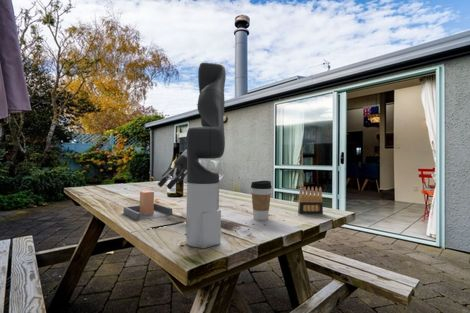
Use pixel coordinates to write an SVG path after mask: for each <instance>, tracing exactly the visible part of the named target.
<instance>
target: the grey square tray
mask: <svg viewBox="0 0 470 313" xmlns="http://www.w3.org/2000/svg"><path fill="white" fill-rule="evenodd" d="M123 214H124V215H126V216H127V217H130V218H132V219H134V220H135V221H143V220H150V219H156V218H162V217H168V216H173V208H171V207H170V206H169V207H168V206H166V205H162V204H159V203H156V202H154V214H149V215H142V214H140V204H138V205H129V206H124V207H123Z"/></svg>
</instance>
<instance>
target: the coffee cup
mask: <svg viewBox="0 0 470 313" xmlns="http://www.w3.org/2000/svg"><path fill="white" fill-rule="evenodd" d="M272 187H273V186H272V182H271V180H258V181H251V185H250V189H251V202H252V213H253V214H252V215H253V217H252V218H253V220H256V221H266V220H268V219H269V212H270V202H271V196H272V195H271V191H272V190H271V189H272Z"/></svg>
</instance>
